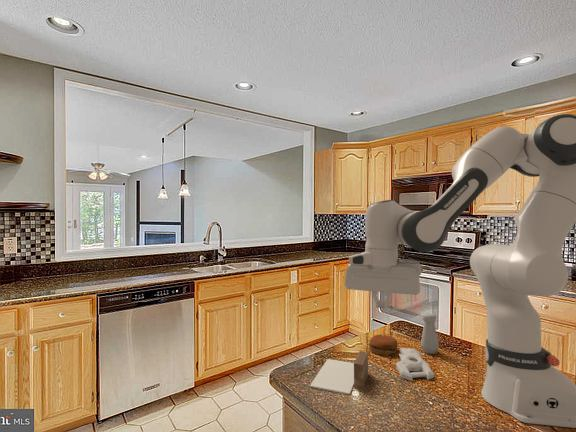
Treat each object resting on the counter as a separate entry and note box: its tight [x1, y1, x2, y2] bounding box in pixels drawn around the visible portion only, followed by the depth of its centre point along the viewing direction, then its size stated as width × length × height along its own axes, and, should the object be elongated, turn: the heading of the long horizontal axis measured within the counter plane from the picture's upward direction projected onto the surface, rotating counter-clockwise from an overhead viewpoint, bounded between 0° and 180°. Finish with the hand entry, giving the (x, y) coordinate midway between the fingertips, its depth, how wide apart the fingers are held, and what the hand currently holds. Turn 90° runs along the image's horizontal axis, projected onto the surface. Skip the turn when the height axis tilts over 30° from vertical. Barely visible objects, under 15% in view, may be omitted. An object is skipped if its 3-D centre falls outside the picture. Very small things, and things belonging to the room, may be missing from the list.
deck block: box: [353, 350, 369, 389], centre depth 93 cm, size 2×9×6 cm, turn 157°
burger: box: [368, 333, 398, 356], centre depth 114 cm, size 10×9×5 cm
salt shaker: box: [420, 312, 440, 355], centre depth 112 cm, size 6×6×13 cm
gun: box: [395, 347, 435, 382], centre depth 100 cm, size 18×4×10 cm
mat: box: [309, 358, 354, 396], centre depth 96 cm, size 11×18×1 cm, turn 157°
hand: (381, 307), depth 91 cm, fingers closed
